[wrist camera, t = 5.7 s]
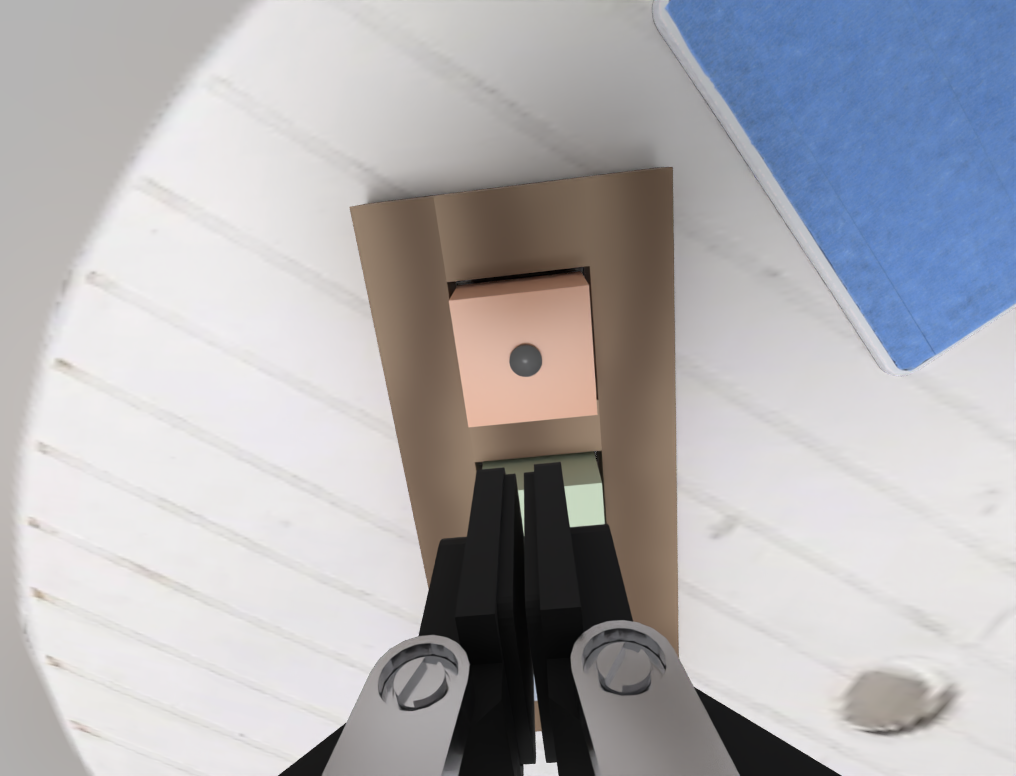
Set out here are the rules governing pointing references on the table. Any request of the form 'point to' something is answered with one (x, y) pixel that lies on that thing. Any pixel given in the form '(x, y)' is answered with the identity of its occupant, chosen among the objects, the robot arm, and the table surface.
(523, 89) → the table surface
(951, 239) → the blue rectangular pad
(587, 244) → the button board
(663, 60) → the table surface
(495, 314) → the button one dot
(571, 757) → the robot arm
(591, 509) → the button two dots
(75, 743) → the table surface
